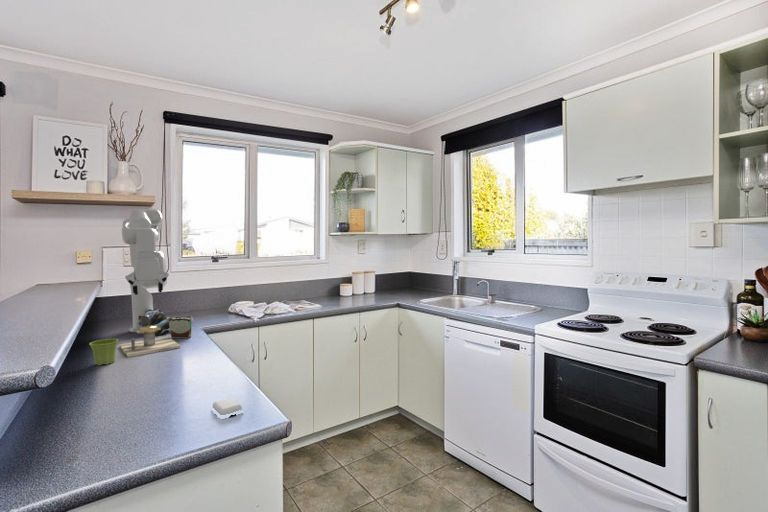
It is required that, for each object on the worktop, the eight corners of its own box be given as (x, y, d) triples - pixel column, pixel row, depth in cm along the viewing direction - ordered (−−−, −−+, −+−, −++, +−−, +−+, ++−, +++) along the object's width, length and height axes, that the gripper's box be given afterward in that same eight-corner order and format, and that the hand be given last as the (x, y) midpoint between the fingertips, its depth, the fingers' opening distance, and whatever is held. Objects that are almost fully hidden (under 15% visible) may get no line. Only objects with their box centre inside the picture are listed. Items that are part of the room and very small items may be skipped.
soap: (209, 411, 116) (209, 401, 116) (233, 404, 120) (233, 394, 120) (220, 422, 109) (220, 411, 109) (245, 414, 113) (245, 404, 113)
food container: (199, 335, 203) (198, 315, 203) (192, 338, 197) (191, 317, 196) (175, 334, 204) (175, 315, 204) (168, 337, 198) (167, 317, 198)
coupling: (133, 329, 185) (132, 316, 184) (155, 326, 191) (155, 313, 190) (138, 334, 175) (138, 320, 175) (161, 331, 181) (161, 317, 181)
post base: (119, 347, 182) (119, 331, 182) (168, 339, 195) (168, 324, 195) (127, 357, 167) (126, 340, 167) (180, 347, 180) (179, 332, 180)
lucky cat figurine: (156, 336, 200) (140, 313, 198) (144, 343, 206) (128, 320, 204) (181, 322, 213) (166, 299, 211) (169, 328, 219) (154, 307, 217)
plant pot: (85, 365, 158) (84, 343, 157) (111, 358, 166) (110, 337, 166) (98, 368, 153) (97, 346, 153) (124, 361, 162) (123, 340, 161)
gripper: (165, 254, 192) (167, 290, 193) (122, 256, 180) (124, 294, 181) (169, 255, 186) (171, 292, 187) (125, 256, 175) (127, 296, 176)
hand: (148, 293), depth 184 cm, fingers open, 9 cm apart
